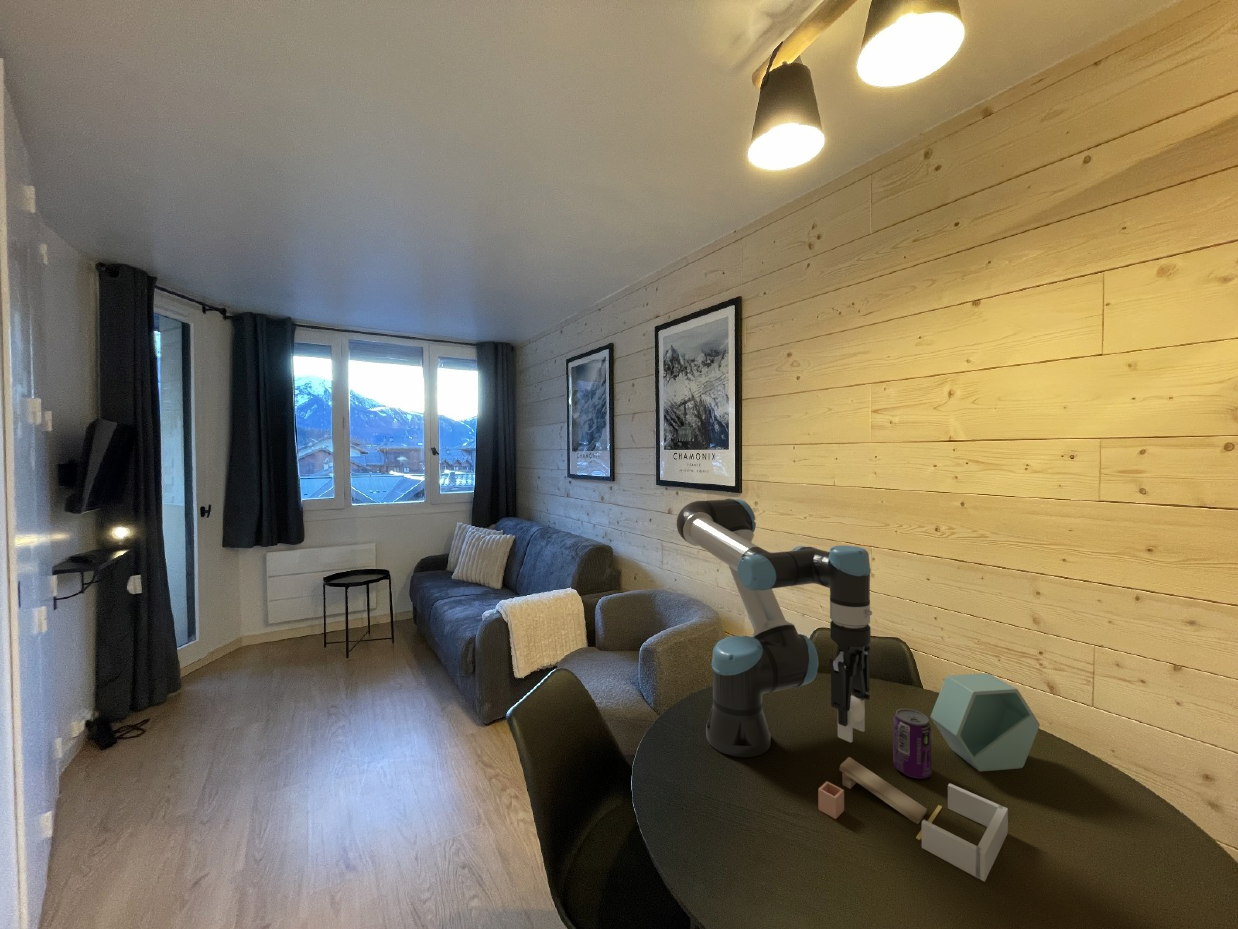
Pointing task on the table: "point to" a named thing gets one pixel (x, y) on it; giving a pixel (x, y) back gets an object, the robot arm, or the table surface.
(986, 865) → the fence
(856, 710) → the ball
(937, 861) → the table surface
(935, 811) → the line
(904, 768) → the beverage can
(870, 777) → the ramp
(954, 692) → the hexagonal wall shelf
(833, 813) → the salmon pink box
